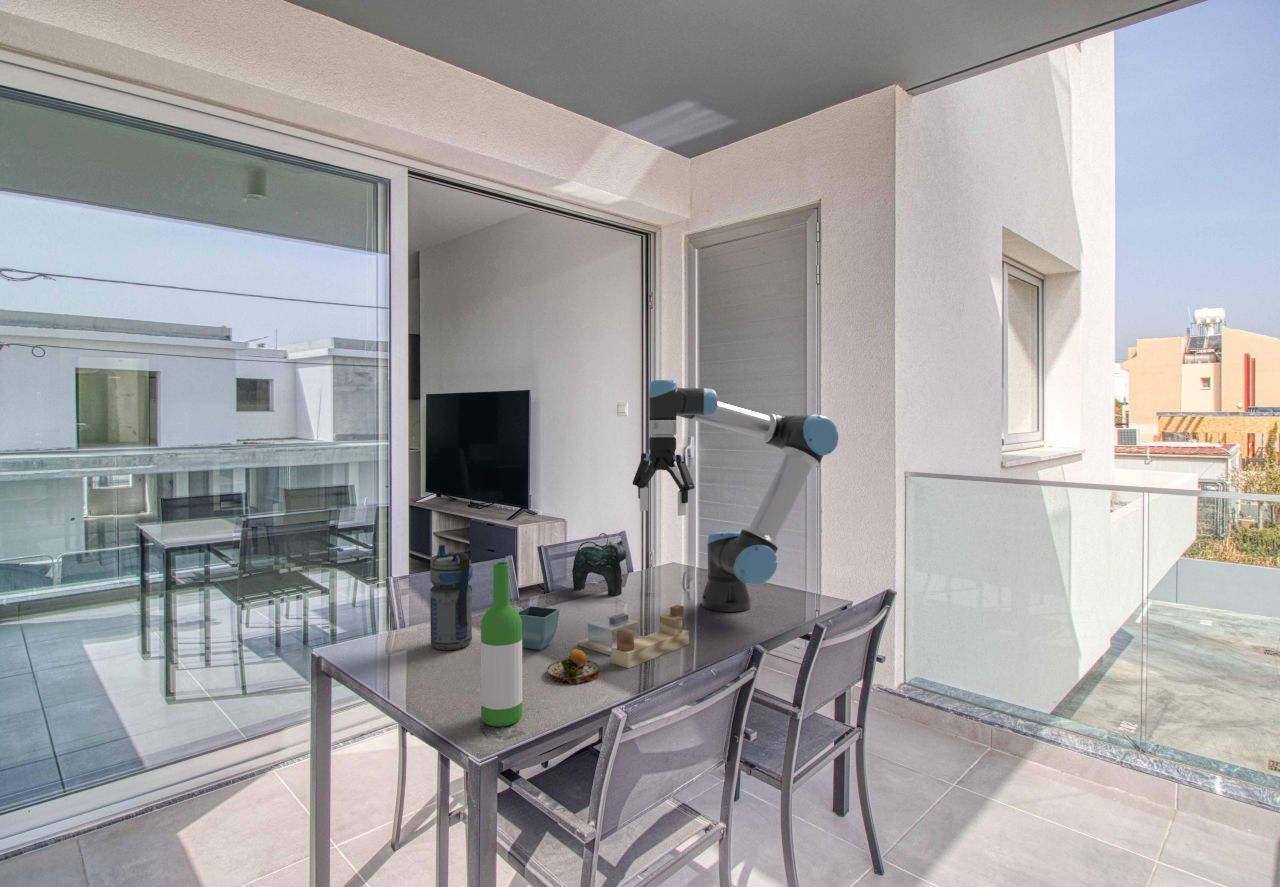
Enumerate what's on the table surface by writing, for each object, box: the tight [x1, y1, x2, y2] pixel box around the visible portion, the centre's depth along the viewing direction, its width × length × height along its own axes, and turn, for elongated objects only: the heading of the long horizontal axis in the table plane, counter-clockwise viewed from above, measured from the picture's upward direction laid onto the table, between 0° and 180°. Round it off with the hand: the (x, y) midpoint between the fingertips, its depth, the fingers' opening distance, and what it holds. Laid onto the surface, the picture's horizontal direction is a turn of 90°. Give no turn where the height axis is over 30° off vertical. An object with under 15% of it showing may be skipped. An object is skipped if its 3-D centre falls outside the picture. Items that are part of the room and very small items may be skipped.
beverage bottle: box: [429, 544, 474, 651], centre depth 172 cm, size 10×13×25 cm
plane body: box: [610, 604, 690, 669], centre depth 167 cm, size 23×6×10 cm, turn 138°
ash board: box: [577, 635, 644, 657], centre depth 174 cm, size 14×12×1 cm
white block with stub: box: [587, 613, 640, 648], centre depth 174 cm, size 10×8×6 cm
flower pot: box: [518, 605, 560, 651], centre depth 172 cm, size 9×9×9 cm
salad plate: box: [547, 646, 601, 685], centre depth 153 cm, size 12×12×8 cm
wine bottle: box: [480, 561, 523, 727], centre depth 129 cm, size 8×8×30 cm
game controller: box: [571, 532, 627, 597], centre depth 227 cm, size 20×6×20 cm, turn 58°
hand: (662, 513), depth 188 cm, fingers open, 13 cm apart
